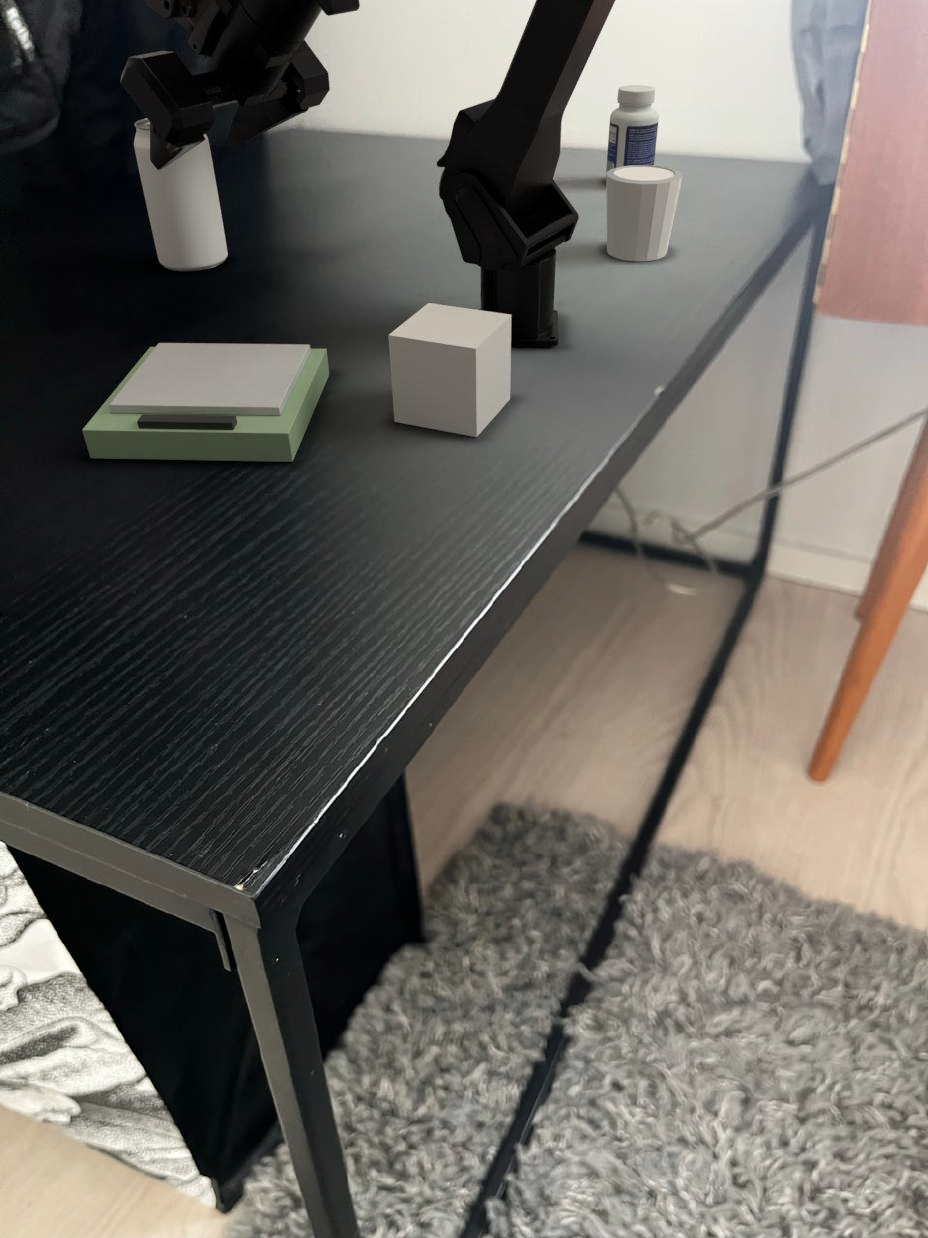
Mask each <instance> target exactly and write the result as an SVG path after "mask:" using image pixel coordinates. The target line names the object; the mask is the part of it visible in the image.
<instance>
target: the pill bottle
mask: <svg viewBox="0 0 928 1238" xmlns="http://www.w3.org/2000/svg"><path fill="white" fill-rule="evenodd" d="M655 96H656V89H655V87H654V86H651V85H644V84H629V85H622V86H620V87H618V90H617V98H616V100H617V104H618V107H616V108H615V109H613V110H612V112H611V113H610V116H609V127H608V138H607V139H608V140H607V141H608V142H607V155H606V169H605V174H606V173H607V172H608V171H609V170H610V169H614V168H617V167H622V166H630V165H653V166H655V158H656V149H657V141H658V140H657V137H658V129H659V119H660V117H659V113H658V111H657V110H656V109H654V108H653V107H652V105H653V104H654V103H655Z"/></svg>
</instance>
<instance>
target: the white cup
mask: <svg viewBox="0 0 928 1238" xmlns="http://www.w3.org/2000/svg"><path fill="white" fill-rule="evenodd" d="M683 177H684V175H683V173H682V172H681V171H679V170H677V169H675V168H671V167H668V166H667V167H666V166H662V165H654V166H653V165H630V166H622V167H617V168H614V169H610V170H609V171H608V172H607V173H606V172H605V184H606V185H605V186H606V191H605V192H606V193H605V194H606V252H607V254H608V255H609V256H611V257H613V258H615V259H618V260H622V261H629V262H651V261H656V260H657V261H658V260H660V259H662V258H664V257H665V256H666V255H667V254H668V250H669V246H670V245H669V244H670V239H671V235H672V229H673V225H674V219H675V215H676V212H677V211H676V210H677V207H678V206H677V205H678V201H679V196H680V191H681V186H682V181H683Z"/></svg>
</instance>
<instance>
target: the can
mask: <svg viewBox="0 0 928 1238" xmlns="http://www.w3.org/2000/svg"><path fill="white" fill-rule="evenodd" d="M134 127H135V129H136V130H135V136H134V140H133V148H134V154H135V158H136V162H137V168H138V173H139V177H140V183H141V187H142V191H143V196H144V200H145V205H146V210H147V214H148V219H149V224H150V227H151V233H152V238H153V242H154V246H155V247H154V248H155V251H156V256H157V260H158V262H159V264H160V265H162V267H164V268H165V269H166V270H169V271H173V272H178V273H179V272H181V273H191V272H200V271H206V270H207V271H208V270H210V269H214V268H217V267H220V265H222V264H224V263H225V262H226V259H227V258H228V255H229V253H228V247H227V240H226V233H225V228H224V227H225V226H224V221H223V215H222V209H221V203H220V197H219V192H218V186H217V180H216V174H215V168H214V162H213V157H212V152H211V145H210V141H209V137H208V136H207V133H205V134H204V135H203V136H204V137H205V140H204V141H203V142H202V143H200V144H199V145H197V146H196V147H194V148H193V149H191V150H190V151H188V152H187V153H185V154H184V155H182V156H181V157H179V158H178V159H177V160H175V161H174V162H172V163H171V164H169V165H167V166H166V167H164V168H163V169H160V170H157V169H156V167H155V166H154V165H153V164H152V162H151V160H150V121H149V120H148V119H147V117H146V118H142V119H139V120H137V121H135V122H134Z"/></svg>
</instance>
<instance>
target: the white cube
mask: <svg viewBox="0 0 928 1238" xmlns="http://www.w3.org/2000/svg"><path fill="white" fill-rule="evenodd" d="M387 338H388V351H389V363H390V364H389V365H390V379H391V391H392V392H391V393H392V394H391V395H392V407H393V409H392V410H393V421H394V423H400V424H405V425H409V426H415V427H421V428H424V429H425V428H426V429H430V430H431V429H432V430H437V431H442V432H446V433H451V434H456V435H463V436H468V437H473V438H478V437H479V435H481V433H482V432H483V431H484V430H485V428H487V426H488V425H489V424H490V423H491V422H492V421H493V420H494V418H496V416H497V415H498V414H499V413H500V411H502V409H503V408H504V407H505V406H506V405H507V404H508V402H509V401H510V400H511V376H512V375H511V374H512V373H511V372H512V371H511V370H512V369H511V368H512V367H511V366H512V345H511V315H510V314H503V313H496V312H489V311H482V310H480V309H475V308H467V307H460V306H453V305H446V304H440V303H432V302H428V303H426V304H425V305H424V306H423V307H421V309H419V310H417V312H415V313H414V314H413V315H411V316H410V317H409V318H408V319H406V320H405V321H404V322H403V323H401V324H400V325H399V326H398V327H397V328H396V329H394V330H393V331H391V333H389V334H388V337H387Z"/></svg>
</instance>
